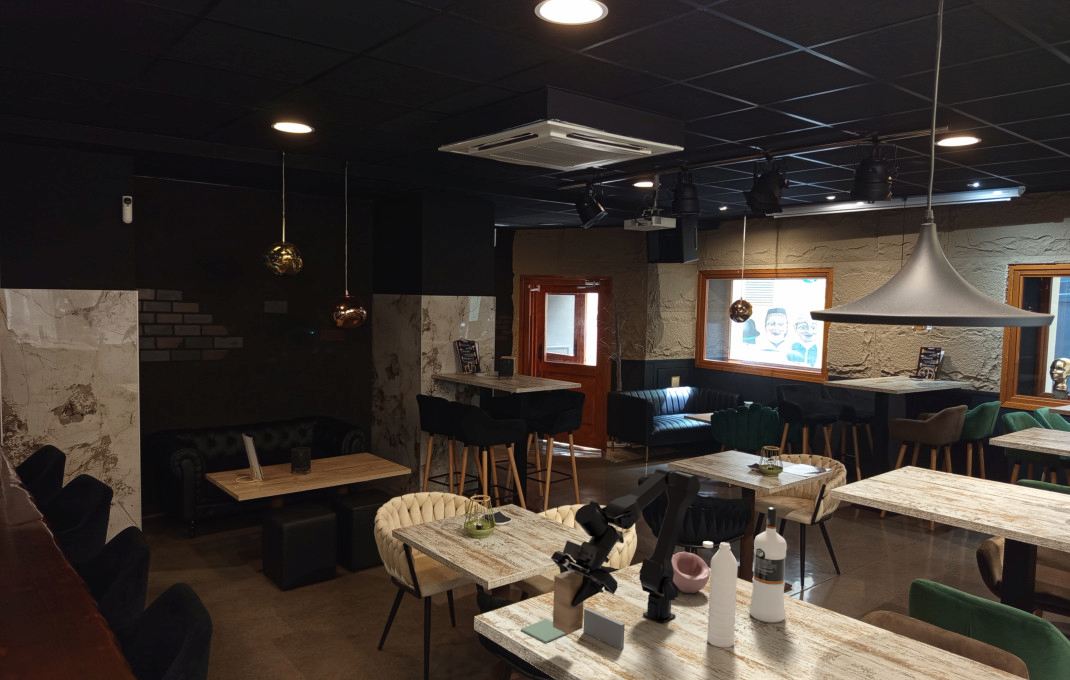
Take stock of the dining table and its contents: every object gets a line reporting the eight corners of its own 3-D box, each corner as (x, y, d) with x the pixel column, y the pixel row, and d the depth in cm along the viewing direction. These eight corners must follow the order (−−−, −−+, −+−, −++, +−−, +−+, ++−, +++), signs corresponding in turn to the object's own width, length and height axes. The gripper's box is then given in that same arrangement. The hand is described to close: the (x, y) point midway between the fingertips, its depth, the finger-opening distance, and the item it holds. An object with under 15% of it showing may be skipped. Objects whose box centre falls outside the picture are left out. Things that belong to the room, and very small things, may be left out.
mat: (545, 620, 186) (546, 618, 186) (571, 632, 179) (571, 630, 179) (520, 630, 180) (520, 628, 180) (546, 643, 173) (546, 641, 173)
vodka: (792, 621, 190) (797, 510, 189) (765, 626, 187) (770, 513, 186) (768, 607, 199) (773, 501, 198) (741, 612, 195) (746, 504, 194)
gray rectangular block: (586, 630, 180) (587, 607, 180) (623, 648, 172) (624, 623, 172) (583, 632, 180) (584, 609, 179) (620, 649, 171) (621, 625, 171)
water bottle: (729, 636, 180) (734, 539, 179) (737, 648, 174) (742, 547, 173) (695, 635, 180) (699, 538, 179) (702, 647, 173) (706, 546, 172)
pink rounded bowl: (682, 602, 201) (683, 562, 200) (659, 586, 212) (660, 548, 211) (717, 596, 205) (718, 557, 205) (692, 581, 216) (694, 544, 216)
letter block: (567, 620, 173) (569, 570, 172) (583, 627, 169) (584, 576, 169) (552, 627, 169) (554, 575, 169) (568, 634, 166) (569, 581, 165)
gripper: (557, 518, 178) (521, 571, 171) (610, 538, 164) (573, 597, 157) (579, 543, 183) (545, 595, 177) (633, 565, 169) (598, 622, 162)
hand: (564, 601), depth 168 cm, fingers closed on letter block, 5 cm apart
